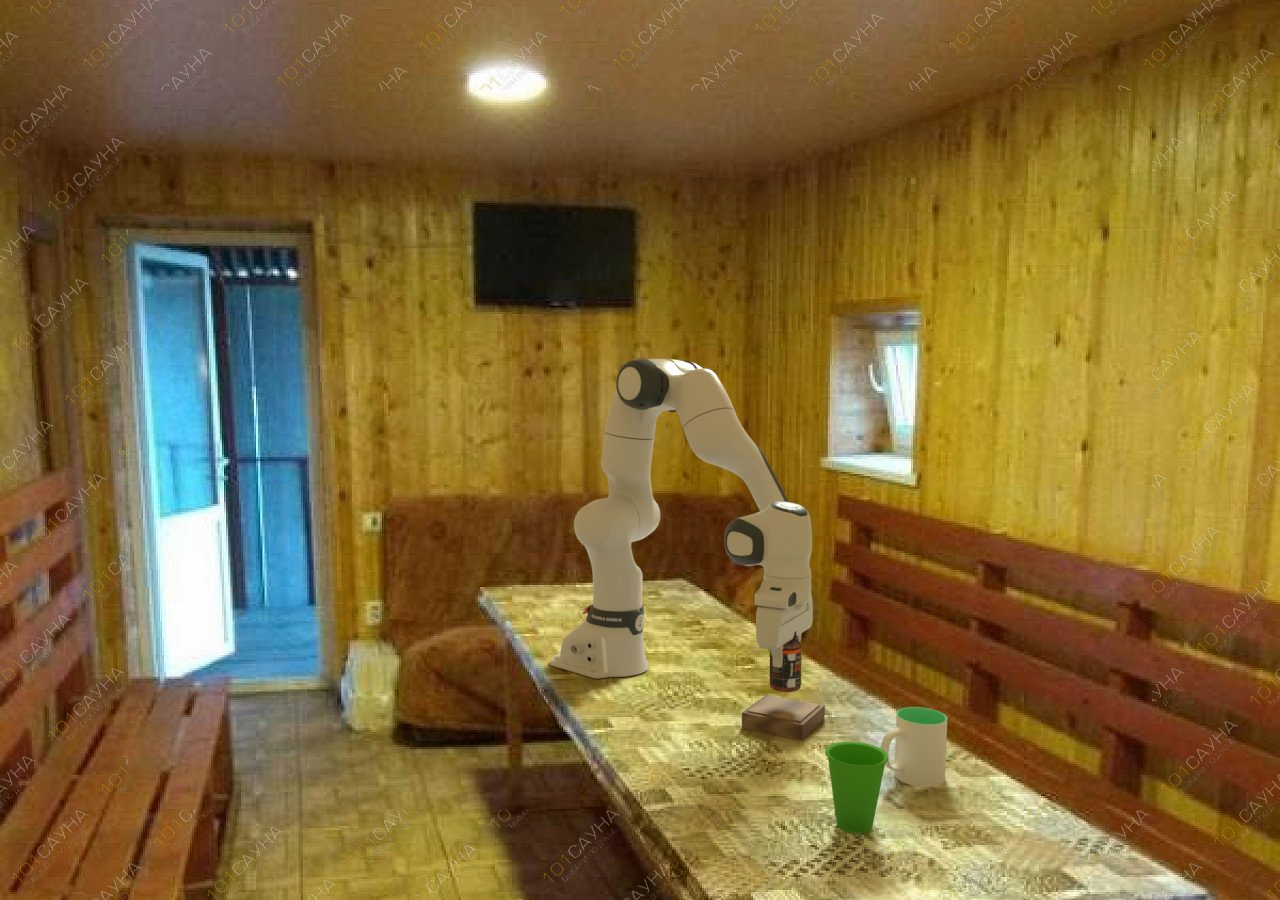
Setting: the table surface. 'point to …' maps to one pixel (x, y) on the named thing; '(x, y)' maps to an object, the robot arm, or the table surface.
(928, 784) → the mug
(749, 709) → the brown box
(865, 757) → the cup
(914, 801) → the table surface
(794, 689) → the supplement bottle
